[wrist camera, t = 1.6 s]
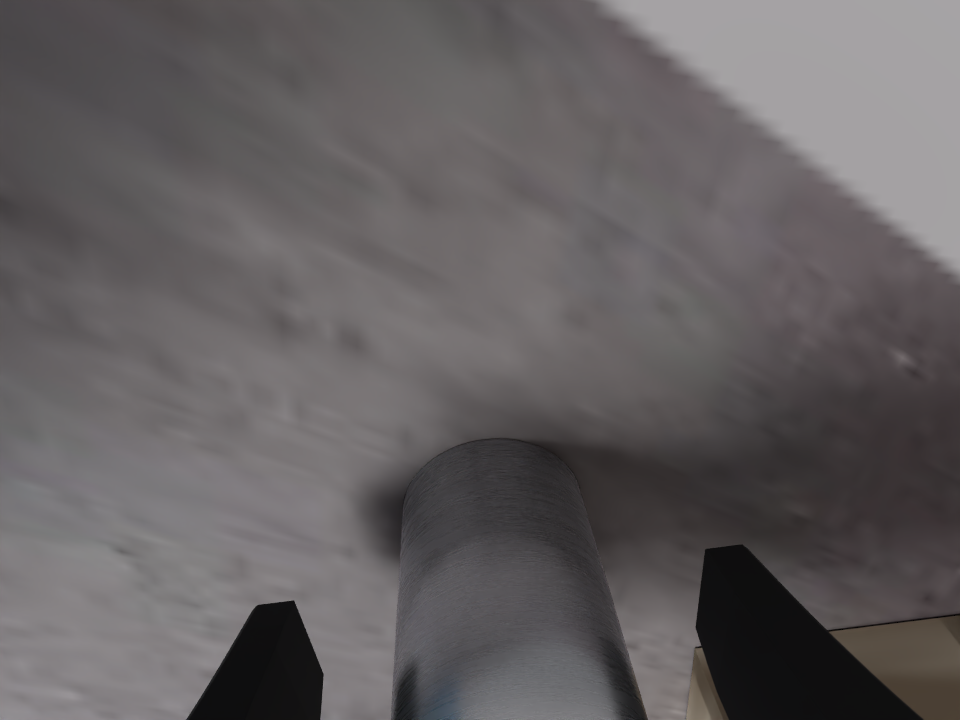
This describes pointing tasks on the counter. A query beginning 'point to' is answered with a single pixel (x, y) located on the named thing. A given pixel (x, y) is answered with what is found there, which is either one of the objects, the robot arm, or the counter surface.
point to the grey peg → (505, 595)
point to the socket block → (878, 667)
